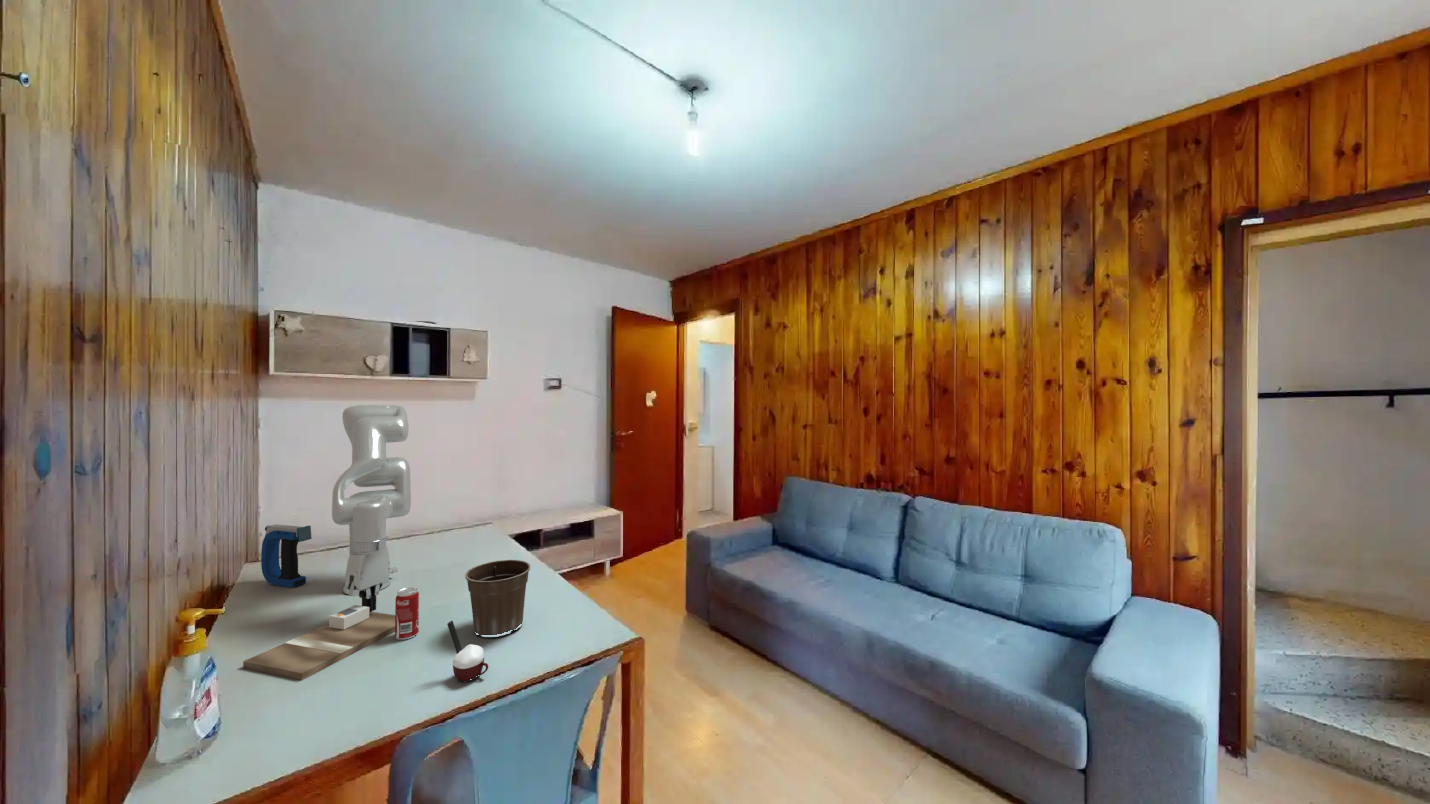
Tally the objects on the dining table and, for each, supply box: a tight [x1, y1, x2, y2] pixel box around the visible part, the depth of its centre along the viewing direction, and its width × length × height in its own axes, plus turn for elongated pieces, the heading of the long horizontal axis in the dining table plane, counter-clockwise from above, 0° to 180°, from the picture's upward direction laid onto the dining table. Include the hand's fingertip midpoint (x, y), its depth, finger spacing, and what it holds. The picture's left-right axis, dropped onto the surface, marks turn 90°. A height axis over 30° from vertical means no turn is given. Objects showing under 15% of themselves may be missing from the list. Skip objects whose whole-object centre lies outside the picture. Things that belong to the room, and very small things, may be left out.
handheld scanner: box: [260, 523, 312, 589], centre depth 159 cm, size 5×16×20 cm, turn 78°
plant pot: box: [464, 559, 531, 635], centre depth 130 cm, size 16×16×16 cm
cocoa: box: [447, 620, 489, 682], centre depth 108 cm, size 10×6×12 cm, turn 60°
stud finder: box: [328, 604, 369, 630], centre depth 129 cm, size 7×5×3 cm
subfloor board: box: [242, 611, 395, 681], centre depth 121 cm, size 28×18×2 cm, turn 166°
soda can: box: [394, 587, 420, 641], centre depth 126 cm, size 5×5×12 cm
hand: (369, 610), depth 134 cm, fingers closed
